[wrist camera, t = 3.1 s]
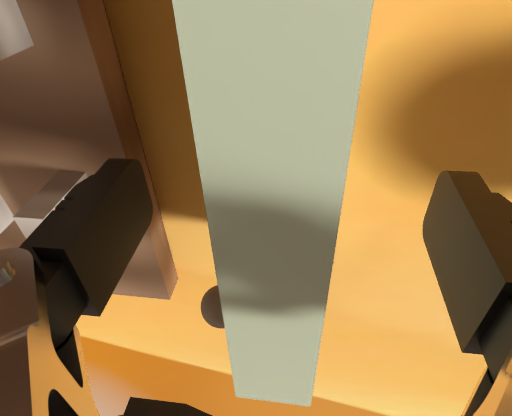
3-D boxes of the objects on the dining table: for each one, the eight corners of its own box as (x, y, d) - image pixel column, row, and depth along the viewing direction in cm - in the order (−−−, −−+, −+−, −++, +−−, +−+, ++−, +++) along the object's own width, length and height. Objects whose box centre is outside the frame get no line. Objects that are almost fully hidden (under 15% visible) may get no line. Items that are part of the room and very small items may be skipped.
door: (204, -129, 10) (-2, -205, 3) (350, -138, 9) (414, -245, 3) (237, 227, 18) (194, 391, 12) (314, 232, 17) (310, 406, 11)
